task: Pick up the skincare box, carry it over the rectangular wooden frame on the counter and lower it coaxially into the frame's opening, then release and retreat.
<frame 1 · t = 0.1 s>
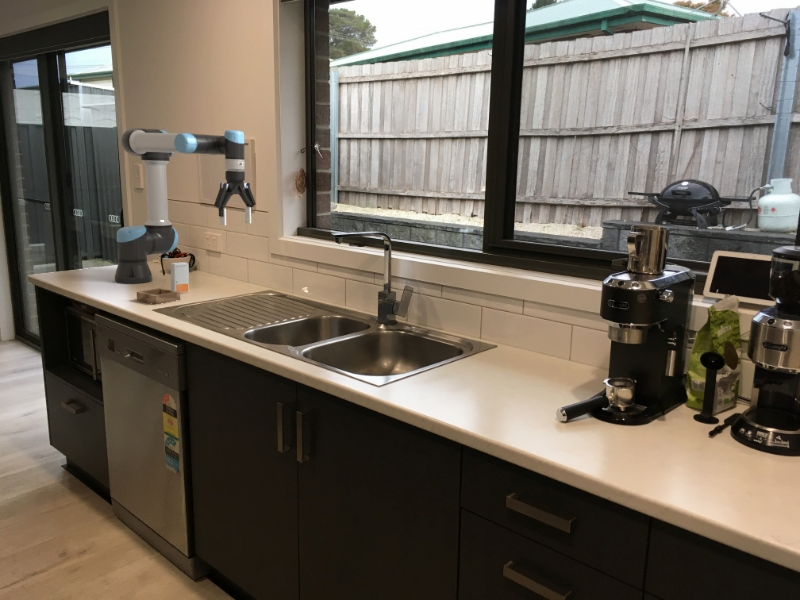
hand: (235, 224, 258), 28 cm above the worktop, tool pointing down, fingers open, 13 cm apart
rectangular wooden frame: (158, 300, 243), on the worktop
skincare box: (180, 292, 259), on the worktop
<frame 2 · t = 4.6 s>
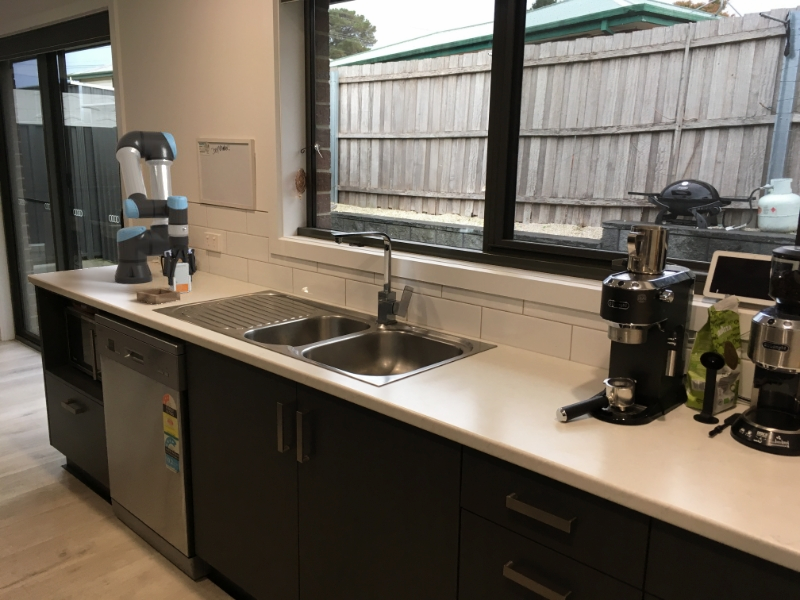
hand: (180, 291, 258), 0 cm above the worktop, tool pointing down, fingers closed on skincare box, 7 cm apart
skincare box: (180, 292, 259), on the worktop, touching gripper
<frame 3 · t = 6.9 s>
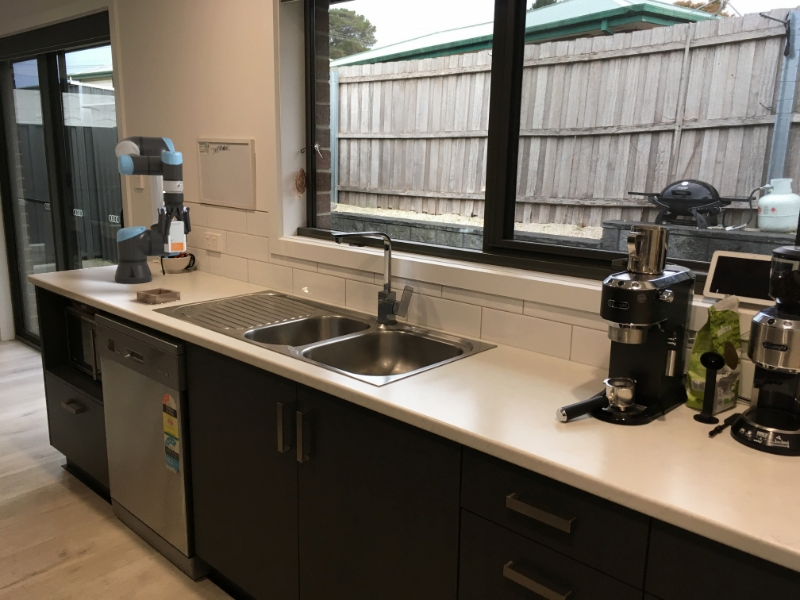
hand: (175, 251, 252), 17 cm above the worktop, tool pointing down, fingers closed on skincare box, 7 cm apart
skincare box: (175, 252, 252), point 17 cm above the worktop, touching gripper
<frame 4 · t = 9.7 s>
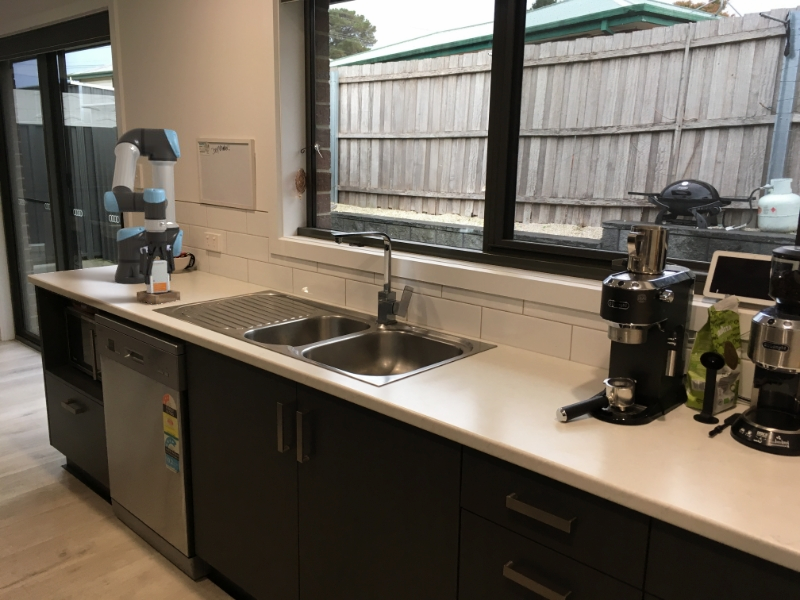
hand: (158, 291, 242), 4 cm above the worktop, tool pointing down, fingers closed on skincare box, 7 cm apart
skincare box: (158, 292, 242), point 3 cm above the worktop, touching gripper
when the fingers open (4 cm above the worktop, at t = 9.7 s): skincare box drops 3 cm, resting on rectangular wooden frame.
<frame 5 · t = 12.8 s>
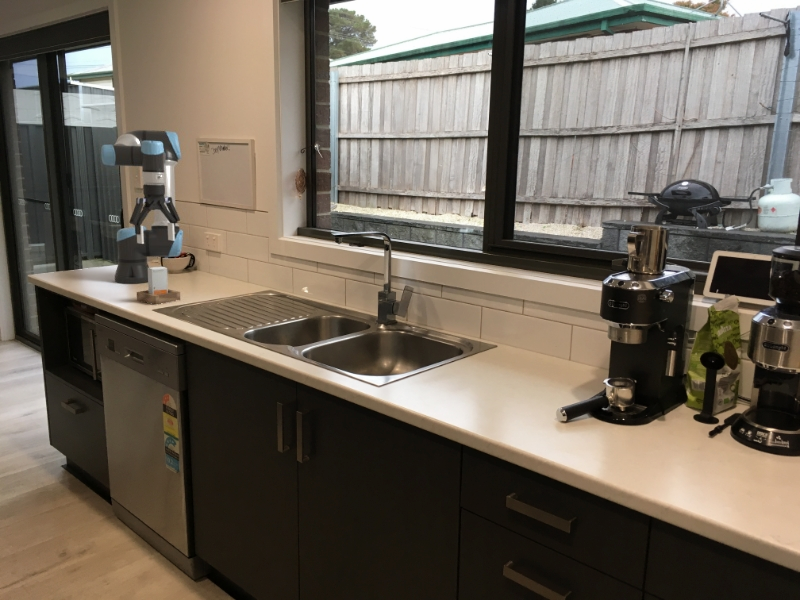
hand: (156, 241, 238), 22 cm above the worktop, tool pointing down, fingers open, 13 cm apart
skincare box: (158, 299, 243), resting on rectangular wooden frame
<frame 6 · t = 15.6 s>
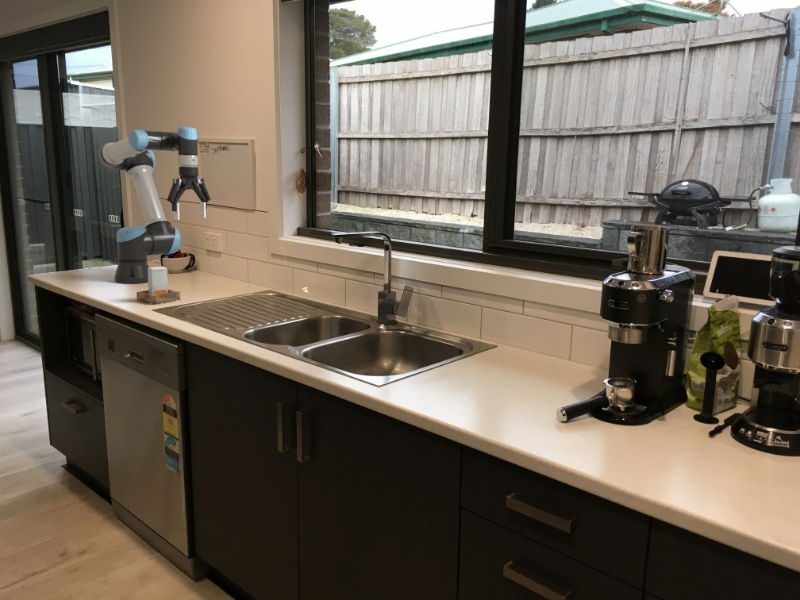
hand: (190, 218, 265), 29 cm above the worktop, tool pointing down, fingers open, 13 cm apart
nothing on the worktop moved.
at the end: skincare box 0.0 cm off-centre on the rectangular wooden frame, point 0.4 cm above the rectangular wooden frame's base; skincare box tilted 0°; the gripper is holding nothing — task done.
